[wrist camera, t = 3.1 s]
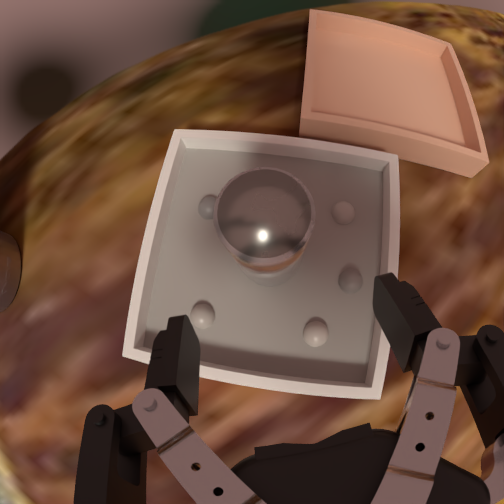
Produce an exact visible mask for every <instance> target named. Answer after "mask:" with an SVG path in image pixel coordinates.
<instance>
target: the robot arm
mask: <svg viewBox="0 0 504 504" xmlns="http://www.w3.org/2000/svg"><path fill="white" fill-rule="evenodd" d="M20 273H21V258H20V251H19V247H18V245H17V242H16V240H15V239H14V238H13V237H12V236H11V235H9V234H7V233H5V232H2V231H0V312H1V311H3V310H5V309H6V308H7V307H8V306H9V305H10V304H11V302H12V300H13V299H14V297H15V294H16V291H17V289H18V285H19V280H20ZM372 304H373V311H374V314H375V317H376V319H377V321H378V322H379V324H380V326H381V328H382V330H383V332H384V334H385V336H386V338H387V340H388V342H389V344H390V346H391V348H392V350H393V352H394V354H395V356H396V358H397V360H398V362H399V364H400V367H401V369H402V371H403V373H405V372H408V371H411V370H412V371H413V373H414V377H413V381H412V384H411V387H410V391H409V394H408V397H407V400H406V403H405V406H404V409H403V412H402V415H401V417H400V420H399V422H398V425H397V427H396V429H395V432H393V431H390V430H384V429H371V426H370V423H367V424H363V425H360V426H357V427H353V428H349V429H346V430H342V431H340V432H338V433H336V434H334V435H332V436H330V437H328V438H326V439H324V440H322V441H320V442H318V443H315V444H289V443H281V444H275V445H269V446H262V447H254V448H255V454H254V455H251V456H249V457H247V458H245V459H243V460H242V461H240V462H239V463H237V464H236V465H235V466H234V467H233V468H232V469H231V470H230V469H229V468H228V467H227V466H226V465H225V464H224V463H223V462H222V461H221V460H220V459H219V458H218V457H217V456H216V454H215V453H214V452H213V451H212V450H211V449H210V448H209V447H208V446H207V445H206V444H205V443H204V441H203V440H202V439H201V438H200V437H199V436H198V435H197V434H196V432H195V431H194V430H193V429H192V428H191V427H190V425H189V416H196V415H198V393H199V372H200V353H201V350H200V343H199V339H198V337H197V335H196V333H195V330H194V328H193V326H192V324H191V322H190V319H189V317H188V316H187V315H186V314H185V315H179V316H173V317H169V319H168V323H167V329H166V330H161V331H159V333H158V334H157V336H156V338H155V339H154V342H153V346H152V352H151V356H150V359H151V360H150V361H149V367H148V372H147V377H146V383H145V388H144V390H143V391H142V392H140V393H139V394H138V395H137V396H136V397H135V399H134V401H133V403H132V404H130V405H128V406H125V407H122V408H119V409H116V410H113V409H112V408H111V407H109V406H108V405H103V404H102V405H97V406H95V407H93V408H92V409H91V410H90V411H89V412H88V414H87V416H86V419H85V424H84V430H83V435H82V441H81V447H80V454H79V460H78V468H77V475H76V484H75V493H74V504H146V468H147V451H149V450H152V449H155V448H157V449H158V451H157V452H158V454H159V456H160V457H161V459H162V460H163V461H164V463H165V464H166V466H167V467H168V468H169V470H170V471H171V472H172V473H173V475H174V476H175V477H176V479H177V480H178V481H179V482H180V484H181V485H182V486H183V487H184V489H185V490H186V491H187V492H188V493H189V495H190V496H191V497H192V498H193V499H194V500H195V502H196V503H197V504H495V503H497V502H498V501H500V500H502V499H503V498H504V333H503V331H502V330H501V329H500V328H498V327H496V326H494V325H485V326H482V327H481V328H480V329H479V331H478V333H477V335H472V336H458V335H457V334H456V333H455V332H454V331H452V330H450V329H447V328H442V326H441V325H440V323H439V322H438V320H437V319H436V318H435V316H434V315H433V313H432V312H431V310H430V309H429V307H428V306H427V304H425V302H424V300H423V299H422V297H420V295H419V293H418V292H417V290H416V289H415V288H414V287H413V286H412V285H410V284H409V283H407V282H406V281H402V282H399V280H398V279H397V278H396V276H395V275H394V274H393V273H392V272H390V273H386V274H382V275H378V276H375V278H374V290H373V303H372ZM454 386H460V388H461V390H462V392H463V394H464V397H465V399H466V401H467V404H468V406H469V408H470V411H471V413H472V415H473V418H474V420H475V423H476V425H477V428H478V430H479V433H480V435H481V438H482V441H483V443H484V446H485V451H484V452H483V454H482V458H481V470H482V474H481V477H480V478H479V477H478V476H476V475H474V474H472V473H470V472H468V471H466V470H464V469H462V468H460V467H458V466H456V465H454V464H453V463H451V462H449V461H447V460H445V459H443V458H441V457H440V456H441V453H442V449H443V446H444V443H445V439H446V435H447V432H448V428H449V424H450V420H451V416H452V411H453V407H454V402H455V397H456V387H454Z"/></svg>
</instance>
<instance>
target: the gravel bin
mask: <svg viewBox="0 0 504 504" xmlns="http://www.w3.org/2000/svg"><path fill="white" fill-rule="evenodd" d="M258 167H272V168H278V169H281V170H284V171H286V172H289V173H291V174H292V175H294V176H295V177H297V178H298V179H299V180H300V181H301V182H302V183H303V184H304V185H305V186H306V187H307V189H308V190H309V192H310V194H311V196H312V198H313V201H314V205H315V212H316V213H315V224H314V228H313V231H312V233H311V236H310V239H309V241H308V244H307V247H306V249H305V252H304V254H303V257H302V259H301V262H300V265H299V267H298V269H297V271H296V273H295V274H294V276H293V277H292V278H291V279H289V280H288V281H287V282H285V283H283V284H281V285H278V286H274V287H265V286H261V285H258V284H256V283H254V282H252V281H251V280H249V279H248V278H247V277H246V275H245V274H244V273H243V271H242V270H241V269H240V267H239V266H238V264H237V263H236V262H235V260H234V259H233V257H232V256H231V254H230V253H229V252H228V250H227V249H226V247H225V246H224V244H223V243H222V241H221V240H220V238H219V237H218V234H217V232H216V229H215V226H214V219H213V212H214V206H215V202H216V199H217V197H218V195H219V193H220V191H221V190H222V188H223V187H224V186H225V184H226V183H227V182H228V181H229V180H231V179H232V178H233V177H234V176H236V175H238V174H239V173H241V172H244V171H246V170H249V169H252V168H258ZM399 242H400V185H399V163H398V155H395V154H391V153H386V152H381V151H377V150H372V149H366V148H361V147H356V146H350V145H344V144H338V143H332V142H326V141H319V140H312V139H304V138H297V137H288V136H279V135H270V134H259V133H247V132H233V131H215V130H184V129H175V130H174V132H173V135H172V139H171V142H170V145H169V148H168V151H167V154H166V157H165V160H164V164H163V167H162V170H161V174H160V177H159V181H158V184H157V188H156V191H155V195H154V199H153V202H152V206H151V210H150V214H149V218H148V222H147V226H146V230H145V234H144V238H143V243H142V247H141V251H140V256H139V261H138V265H137V270H136V275H135V280H134V285H133V291H132V296H131V302H130V308H129V314H128V320H127V326H126V333H125V340H124V347H123V355H122V356H124V357H127V358H130V359H133V360H137V361H140V362H144V363H147V364H149V361H150V360H151V359H150V356H151V352H152V346H153V342H154V339H155V338H156V336H157V334H158V333H159V331H161V330H166V329H167V323H168V319H169V317H173V316H179V315H185V314H186V315H187V316H188V317H189V319H190V322H191V324H192V326H193V328H194V330H195V333H196V335H197V337H198V339H199V343H200V350H201V353H200V372H199V377H203V378H208V379H212V380H217V381H222V382H227V383H232V384H238V385H243V386H249V387H255V388H262V389H268V390H275V391H282V392H290V393H298V394H307V395H317V396H328V397H341V398H357V399H380V398H381V393H382V388H383V383H384V378H385V373H386V367H387V362H388V356H389V349H390V344H389V342H388V340H387V338H386V336H385V334H384V332H383V330H382V328H381V326H380V324H379V322H378V321H377V319H376V317H375V314H374V311H373V304H372V303H373V290H374V278H375V276H378V275H382V274H386V273H390V272H392V273H393V274H394V275H395V276H396V278H397V279H398V265H399Z"/></svg>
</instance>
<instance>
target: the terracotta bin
mask: <svg viewBox="0 0 504 504" xmlns="http://www.w3.org/2000/svg"><path fill="white" fill-rule="evenodd" d="M299 138H304V139H312V140H319V141H326V142H332V143H338V144H344V145H350V146H356V147H361V148H366V149H372V150H377V151H381V152H386V153H391V154H395V155H398V159H402V160H406V161H411V162H415V163H419V164H423V165H427V166H431V167H435V168H438V169H442V170H446V171H449V172H453V173H456V174H460V175H463V176H466V177H469V178H472V177H473V176H474V175H476V174H477V173H478V172H479V171H480V170H481V169H482V168H484V167H485V166H486V165H487V164H488V163H489V160H488V155H487V150H486V146H485V142H484V138H483V134H482V130H481V126H480V122H479V119H478V115H477V112H476V109H475V106H474V102H473V99H472V96H471V93H470V90H469V88H468V85H467V82H466V79H465V77H464V74H463V71H462V69H461V66H460V64H459V61H458V59H457V57H456V54H455V52H454V50H453V47H452V45H451V44H450V43H447V42H445V41H442V40H439V39H437V38H434V37H431V36H428V35H425V34H422V33H419V32H416V31H413V30H409V29H406V28H403V27H399V26H396V25H392V24H388V23H384V22H380V21H376V20H372V19H367V18H362V17H357V16H352V15H347V14H341V13H335V12H328V11H321V10H313V9H310V15H309V29H308V42H307V54H306V66H305V77H304V88H303V98H302V108H301V118H300V129H299Z"/></svg>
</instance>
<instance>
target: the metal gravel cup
mask: <svg viewBox="0 0 504 504" xmlns="http://www.w3.org/2000/svg"><path fill="white" fill-rule="evenodd" d="M315 213H316V212H315V205H314V201H313V198H312V196H311V194H310V192H309V190H308V189H307V187H306V186H305V185H304V184H303V183H302V182H301V181H300V180H299V179H298V178H297V177H295V176H294V175H292V174H291V173H289V172H286V171H284V170H281V169H278V168H272V167H258V168H252V169H249V170H246V171H244V172H241V173H239V174H238V175H236V176H234V177H233V178H232V179H231V180H229V181H228V182H227V183H226V184H225V186H224V187H223V188H222V190H221V191H220V193H219V195H218V197H217V199H216V202H215V206H214V212H213V219H214V226H215V229H216V232H217V234H218V237H219V238H220V240H221V241H222V243H223V244H224V246H225V247H226V249H227V250H228V252H229V253H230V254H231V256H232V257H233V259H234V260H235V262H236V263H237V264H238V266H239V267H240V269H241V270H242V271H243V273H244V274H245V275H246V277H247V278H248V279H249V280H251V281H252V282H254V283H256V284H258V285H261V286H265V287H274V286H278V285H281V284H283V283H285V282H287V281H288V280H289V279H291V278H292V277H293V276H294V274H295V273H296V271H297V269H298V267H299V265H300V262H301V259H302V257H303V254H304V252H305V249H306V247H307V244H308V241H309V239H310V236H311V233H312V231H313V228H314V224H315Z"/></svg>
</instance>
